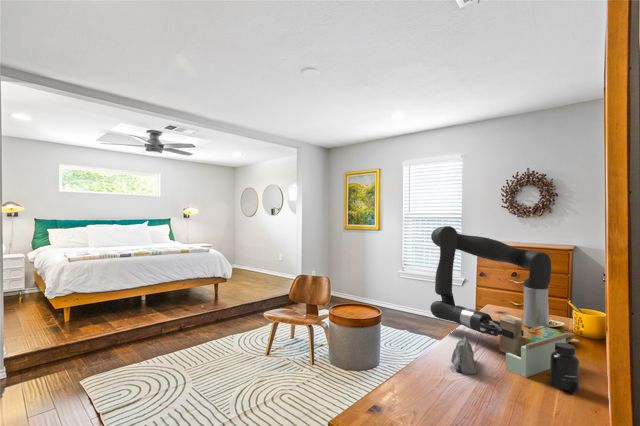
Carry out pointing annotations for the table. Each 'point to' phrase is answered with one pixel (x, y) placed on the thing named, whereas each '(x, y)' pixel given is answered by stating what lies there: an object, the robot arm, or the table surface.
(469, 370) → the mineral rock
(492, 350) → the table surface
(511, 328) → the brown wooden block
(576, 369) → the supplement bottle
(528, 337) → the puzzle game
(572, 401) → the table surface
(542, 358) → the mint green shelf
